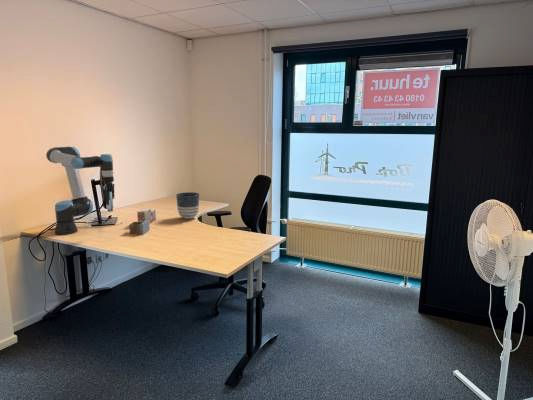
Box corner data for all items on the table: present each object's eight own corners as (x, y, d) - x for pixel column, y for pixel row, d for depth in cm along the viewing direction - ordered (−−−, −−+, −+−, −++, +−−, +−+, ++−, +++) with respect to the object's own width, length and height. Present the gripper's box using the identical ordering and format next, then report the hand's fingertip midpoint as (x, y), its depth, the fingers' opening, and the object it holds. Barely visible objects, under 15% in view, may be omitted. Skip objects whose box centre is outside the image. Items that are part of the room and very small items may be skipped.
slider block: (129, 233, 278) (129, 224, 277) (134, 230, 287) (134, 221, 286) (141, 234, 277) (140, 225, 276) (146, 230, 286) (145, 222, 285)
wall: (140, 234, 276) (140, 224, 274) (146, 230, 288) (146, 220, 286) (143, 234, 276) (142, 224, 274) (149, 230, 288) (148, 220, 286)
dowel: (106, 211, 268) (105, 192, 265) (109, 210, 271) (107, 191, 269) (111, 211, 268) (110, 192, 265) (113, 210, 271) (112, 191, 268)
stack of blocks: (149, 220, 320) (148, 206, 318) (156, 220, 319) (155, 206, 317) (137, 226, 299) (137, 211, 297) (145, 226, 298) (144, 211, 296)
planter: (173, 217, 328) (172, 193, 324) (193, 214, 340) (192, 191, 336) (183, 222, 313) (182, 197, 309) (203, 218, 325) (203, 194, 320)
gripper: (107, 177, 256) (109, 211, 261) (118, 174, 272) (120, 206, 277) (96, 177, 257) (99, 210, 261) (108, 174, 273) (110, 205, 278)
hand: (110, 208), depth 269 cm, fingers closed on dowel, 3 cm apart
